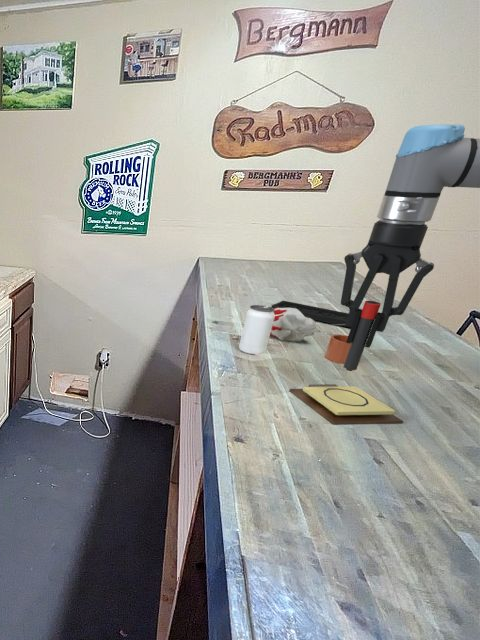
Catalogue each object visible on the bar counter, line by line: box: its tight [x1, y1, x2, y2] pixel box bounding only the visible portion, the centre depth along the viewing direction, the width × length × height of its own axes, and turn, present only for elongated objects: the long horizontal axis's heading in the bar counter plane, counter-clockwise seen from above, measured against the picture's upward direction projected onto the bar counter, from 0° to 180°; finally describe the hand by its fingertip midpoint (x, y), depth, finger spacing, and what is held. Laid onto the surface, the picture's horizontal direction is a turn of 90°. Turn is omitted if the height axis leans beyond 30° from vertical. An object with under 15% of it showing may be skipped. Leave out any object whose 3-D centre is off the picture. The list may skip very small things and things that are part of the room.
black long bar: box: [270, 300, 352, 329], centre depth 146 cm, size 26×3×30 cm
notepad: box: [302, 385, 396, 415], centre depth 94 cm, size 11×12×1 cm
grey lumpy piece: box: [270, 307, 317, 343], centre depth 131 cm, size 9×11×15 cm
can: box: [238, 304, 275, 356], centre depth 120 cm, size 6×6×12 cm
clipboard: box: [289, 383, 404, 425], centre depth 95 cm, size 14×14×2 cm
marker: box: [343, 300, 382, 372], centre depth 90 cm, size 2×2×14 cm
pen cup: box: [324, 334, 352, 365], centre depth 116 cm, size 6×6×6 cm
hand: (358, 343), depth 91 cm, fingers closed on marker, 2 cm apart
